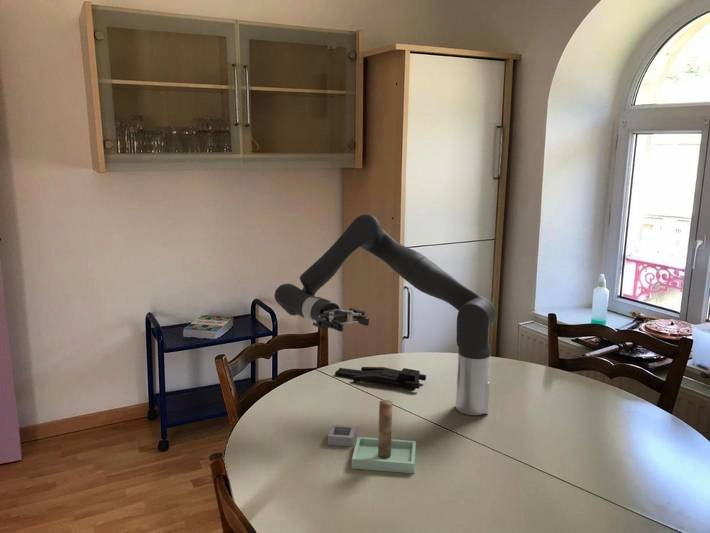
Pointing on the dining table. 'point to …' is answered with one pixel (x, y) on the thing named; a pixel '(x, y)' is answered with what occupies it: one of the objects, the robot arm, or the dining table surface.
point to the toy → (384, 376)
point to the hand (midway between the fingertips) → (355, 324)
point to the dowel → (385, 428)
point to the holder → (342, 435)
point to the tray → (369, 458)
